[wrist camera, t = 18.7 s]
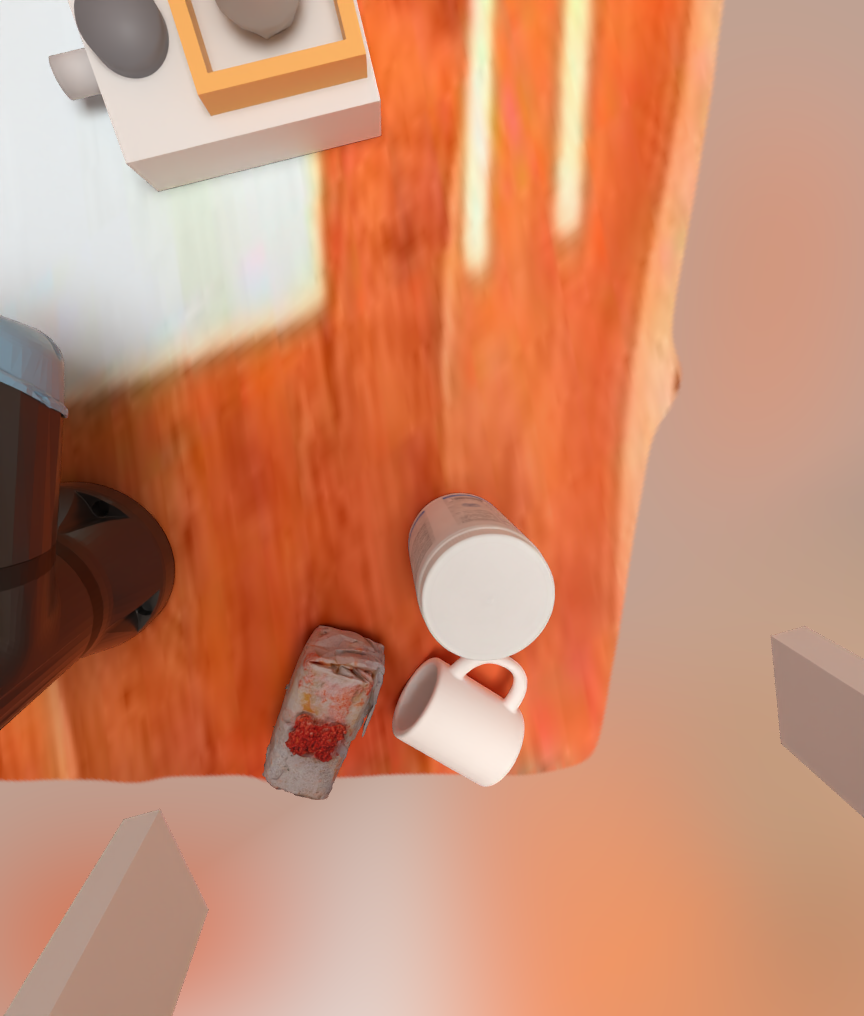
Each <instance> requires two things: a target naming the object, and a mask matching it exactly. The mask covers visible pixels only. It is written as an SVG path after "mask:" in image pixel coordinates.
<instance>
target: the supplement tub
mask: <svg viewBox="0 0 864 1016" xmlns="http://www.w3.org/2000/svg"><path fill="white" fill-rule="evenodd" d="M408 550H409V557H410V562H411V568H412V573H413V579H414V584H415V589H416V595H417V600H418V604H419V608H420V611H421V614H422V617H423V619H424V621H425V623H426V625H427V627H428V629H429V631H430V632H431V634H432V635H433V637H434V638H435V639H436V640H437V641H438V642H439V643H440V644H441V645H442V646H443V647H444V648H445V649H447V650H448V651H450V652H452V653H454V654H456V655H458V656H460V657H463V658H467V659H471V660H478V661H490V660H497V659H501V658H505V657H508V656H511V655H513V654H515V653H517V652H519V651H521V650H522V649H524V648H525V647H527V646H528V645H529V644H531V643H532V642H533V641H534V640H535V639H536V638H537V637H538V636H539V634H540V633H541V632H542V631H543V629H544V628H545V626H546V624H547V622H548V620H549V618H550V616H551V613H552V610H553V606H554V600H555V586H554V581H553V576H552V573H551V571H550V568H549V566H548V564H547V563H546V561H545V560H544V558H543V556H542V554H541V553H540V551H539V550H538V549H537V548H536V546H535V545H534V544H533V543H532V542H531V541H530V540H529V539H528V538H527V537H526V536H525V535H524V534H523V533H521V532H520V531H519V530H518V529H517V528H516V527H515V526H514V525H513V524H512V523H511V522H510V521H509V520H508V519H507V518H506V517H505V516H504V515H503V514H502V513H500V512H499V511H498V510H497V509H496V508H495V507H494V506H493V505H492V504H491V503H489V502H488V501H486V500H485V499H483V498H481V497H479V496H476V495H472V494H467V493H453V494H448V495H444V496H441V497H439V498H437V499H435V500H433V501H432V502H430V503H429V504H428V505H426V506H425V507H424V508H423V509H422V510H421V511H420V513H419V514H418V515H417V517H416V519H415V520H414V522H413V524H412V527H411V529H410V533H409V539H408Z"/></svg>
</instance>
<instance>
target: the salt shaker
mask: <svg viewBox="0 0 864 1016" xmlns="http://www.w3.org/2000/svg"><path fill="white" fill-rule="evenodd" d="M215 1H216V3H217V5H218V7H219V9H220V10H221V12H222V13H223V14H224V15H226V16H227V17H228V18H229V19H231V20H232V21H233V22H234V23H235V24H237V25H238V26H239V27H240V28H242V29H245V30H248V31H251V32H254V33H256V34H257V35H259V36H261V37H263V38H265V39H267V40H268V39H269V38H271V37H273V36H274V35H276V34H278V33H280V32H281V31H283V30H285V29H287V28H288V27H290V26H291V24H292V21H293V19H294V16H295V13H296V10H297V7H298V4H299V0H215Z"/></svg>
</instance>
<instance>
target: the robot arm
mask: <svg viewBox="0 0 864 1016" xmlns="http://www.w3.org/2000/svg"><path fill="white" fill-rule="evenodd" d="M63 418H68V409H67V408H66V406H65V405H64V360H63V356H62V354H61V351H60V350H59V348H58V347H57V345H56V344H55V343H54V342H53V341H52V340H51V339H50V338H49V337H48V336H46V335H45V334H44V333H42V332H40V331H39V330H37V329H35V328H33V327H30V326H28V325H25V324H22V323H20V322H17V321H14V320H12V319H9V318H6V317H3V316H0V730H1V729H2V728H3V727H4V726H5V725H6V724H8V723H9V722H10V721H11V720H12V719H13V718H14V717H15V716H16V715H17V714H19V713H20V712H21V711H22V710H23V709H24V708H25V707H26V706H27V705H29V704H30V703H31V702H32V701H33V700H34V699H35V698H36V697H37V696H38V695H40V694H41V693H42V692H43V691H44V690H45V689H46V688H47V687H48V686H50V685H51V684H52V683H53V682H54V681H55V680H56V679H57V678H58V677H59V676H61V675H62V674H63V673H64V672H65V671H66V670H67V669H68V668H70V667H71V666H72V665H73V664H74V663H75V662H76V661H77V660H78V659H80V658H83V657H86V656H88V655H91V654H94V653H97V652H100V651H103V650H106V649H109V648H112V647H115V646H117V645H120V644H122V643H124V642H126V641H127V640H129V639H131V638H133V637H134V636H135V635H137V634H138V633H140V632H141V631H142V630H143V629H144V628H145V627H146V626H147V625H148V624H149V623H150V622H151V621H152V620H153V619H154V618H155V617H156V616H157V615H158V614H159V613H160V612H161V610H162V609H163V607H164V606H165V604H166V602H167V600H168V598H169V596H170V593H171V590H172V587H173V582H174V560H173V554H172V551H171V547H170V545H169V542H168V540H167V538H166V536H165V534H164V532H163V530H162V529H161V527H160V526H159V524H158V523H157V522H156V520H155V519H154V518H153V517H152V516H151V515H150V514H149V513H148V512H147V511H146V510H145V509H144V508H143V507H142V506H141V505H139V504H138V503H137V502H135V501H134V500H132V499H131V498H129V497H128V496H126V495H124V494H122V493H120V492H118V491H116V490H113V489H111V488H108V487H105V486H101V485H98V484H93V483H86V482H63V483H60V473H61V454H62V436H63ZM771 643H772V654H773V665H774V675H775V686H776V696H777V707H778V718H779V728H780V739H781V744H782V745H783V746H784V747H786V748H787V749H788V750H789V751H790V752H791V753H792V754H793V755H794V756H796V757H797V758H798V759H799V760H800V761H801V762H802V763H803V764H804V765H806V766H807V767H808V768H809V769H810V770H811V771H812V772H813V773H815V774H816V775H817V776H818V777H819V778H820V779H821V780H822V781H824V782H825V783H826V784H827V785H828V786H829V787H830V788H831V789H832V790H833V791H835V792H836V793H837V794H838V795H839V796H840V797H841V798H843V799H844V800H845V801H846V802H847V803H848V804H849V805H850V806H851V807H852V808H854V809H855V810H856V811H857V812H858V813H859V814H860V815H861V816H863V817H864V659H863V658H861V657H859V656H858V655H856V654H854V653H852V652H851V651H849V650H847V649H845V648H843V647H842V646H840V645H838V644H836V643H835V642H832V641H831V640H829V639H827V638H825V637H824V636H822V635H820V634H819V633H817V632H815V631H813V630H811V629H810V628H808V627H806V626H803V627H800V628H796V629H792V630H789V631H786V632H782V633H779V634H775V635H771ZM207 913H208V907H207V905H206V903H205V901H204V899H203V897H202V895H201V893H200V891H199V889H198V887H197V885H196V883H195V880H194V878H193V876H192V874H191V872H190V870H189V868H188V866H187V864H186V862H185V859H184V857H183V855H182V853H181V851H180V849H179V847H178V845H177V843H176V841H175V839H174V836H173V834H172V833H171V830H170V828H169V826H168V824H167V822H166V820H165V818H164V816H163V814H162V812H161V810H160V809H158V810H155V811H151V812H148V813H144V814H141V815H137V816H134V817H130V818H127V819H124V820H123V821H122V823H121V824H120V826H119V827H118V829H117V831H116V832H115V834H114V836H113V837H112V839H111V840H110V842H109V844H108V845H107V847H106V849H105V850H104V852H103V854H102V855H101V857H100V858H99V860H98V862H97V863H96V865H95V867H94V868H93V870H92V872H91V873H90V875H89V877H88V878H87V880H86V881H85V883H84V885H83V886H82V888H81V890H80V891H79V893H78V894H77V896H76V898H75V899H74V901H73V903H72V904H71V906H70V908H69V909H68V911H67V913H66V914H65V916H64V917H63V919H62V921H61V922H60V924H59V926H58V927H57V929H56V930H55V932H54V934H53V935H52V937H51V939H50V940H49V942H48V944H47V945H46V947H45V948H44V950H43V952H42V953H41V955H40V957H39V958H38V960H37V962H36V963H35V965H34V966H33V968H32V970H31V971H30V973H29V975H28V976H27V978H26V980H25V981H24V983H23V985H22V986H21V988H20V989H19V991H18V993H17V994H16V996H15V998H14V999H13V1001H12V1002H11V1004H10V1006H9V1008H8V1009H7V1011H6V1012H5V1014H4V1016H172V1015H173V1012H174V1009H175V1006H176V1003H177V1001H178V998H179V995H180V992H181V989H182V986H183V983H184V980H185V977H186V974H187V971H188V968H189V965H190V962H191V959H192V957H193V954H194V951H195V948H196V945H197V941H198V939H199V936H200V933H201V930H202V927H203V924H204V921H205V918H206V915H207Z"/></svg>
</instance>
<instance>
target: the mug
mask: <svg viewBox="0 0 864 1016" xmlns="http://www.w3.org/2000/svg"><path fill="white" fill-rule="evenodd" d="M487 663H492V664H497V665H500V666H503V667H505V668H506V669H508V670H509V671H510V672H511V673H512V674H513V677H514V681H513V685H512V687H511V689H510V691H509V693H508V694H507V696H506V697H505V698H502V697H501V696H499V695H497V694H496V693H494V692H492V691H491V690H489V689H488V688H486V687H484V686H483V685H481V684H480V683H478V682H476V681H475V680H473V679H472V678H470V677H468V676H467V675H466V674H467V673H468V672H469V671H471V670H472V669H473V668H475V667H477V666H479V665H482V664H487ZM526 689H527V677H526V674H525V671H524V670H523V668H522V667H521V666H520V664H518V663H517V662H516V661H515V660H514V659H512V658H510V657H509V656H508V657H505V658H501V659H497V660H490V661H478V660H471V659H467V658H463V657H461V658H459V659H458V660H457V661H455V662H454V663H453V664H452V665H449V664H448V663H446V662H444V661H443V660H441V659H440V658H436V657H435V658H431V659H428V660H427V661H425V662H424V663H423V664H422V665H421V666H420V667H419V668H418V669H417V670H416V671H415V672H414V674H413V675H412V676H411V678H410V679H409V681H408V682H407V684H406V686H405V687H404V689H403V691H402V693H401V695H400V697H399V700H398V702H397V705H396V708H395V711H394V715H393V722H392V729H393V733H394V735H395V736H396V738H398V739H400V740H401V741H403V742H405V743H407V744H408V745H410V746H412V747H414V748H415V749H417V750H419V751H421V752H422V753H424V754H426V755H428V756H429V757H431V758H433V759H435V760H436V761H438V762H440V763H442V764H443V765H445V766H447V767H449V768H450V769H452V770H454V771H456V772H457V773H459V774H461V775H463V776H464V777H466V778H468V779H470V780H471V781H473V782H475V783H477V784H478V785H480V786H485V787H486V786H491V785H494V784H496V783H497V782H499V781H500V780H501V779H503V777H505V775H506V774H507V773H508V772H509V771H510V769H511V768H512V766H513V765H514V763H515V761H516V759H517V757H518V755H519V752H520V749H521V746H522V742H523V738H524V719H523V716H522V713H521V711H520V710H519V708H518V707H519V706H520V704H521V702H522V700H523V698H524V696H525V693H526Z"/></svg>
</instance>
